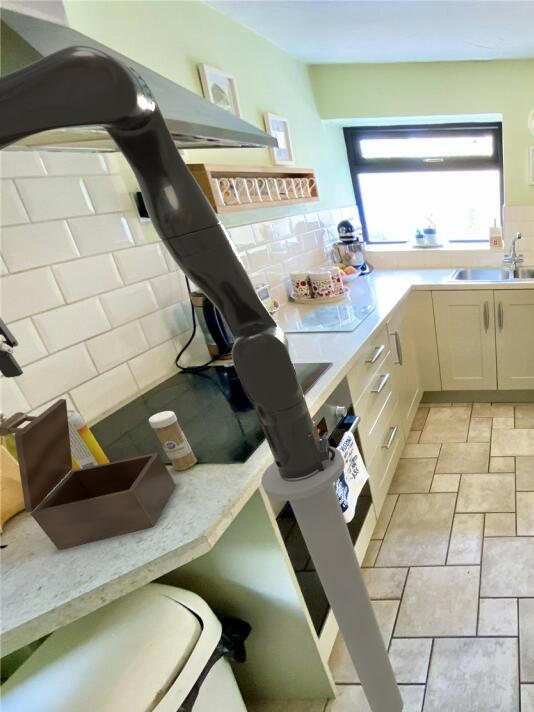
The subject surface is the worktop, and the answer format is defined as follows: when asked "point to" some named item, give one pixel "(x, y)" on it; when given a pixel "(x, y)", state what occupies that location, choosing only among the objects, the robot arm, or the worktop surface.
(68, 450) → the chest lid
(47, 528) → the chest
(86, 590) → the worktop surface
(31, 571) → the worktop surface
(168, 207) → the robot arm
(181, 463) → the sprinkles bottle
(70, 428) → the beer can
